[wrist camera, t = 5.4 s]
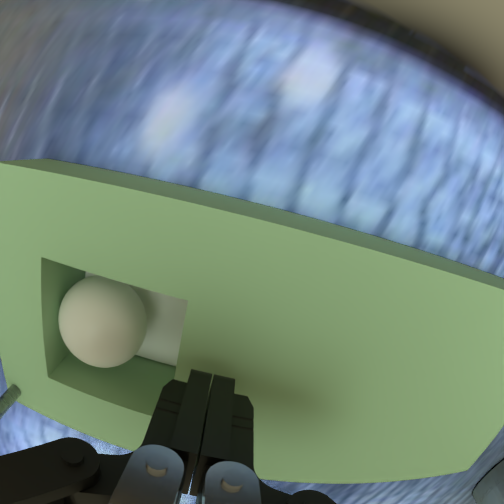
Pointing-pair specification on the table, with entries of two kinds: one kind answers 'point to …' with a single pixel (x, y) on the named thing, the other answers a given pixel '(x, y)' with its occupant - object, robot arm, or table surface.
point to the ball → (102, 321)
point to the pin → (9, 399)
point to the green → (253, 324)
